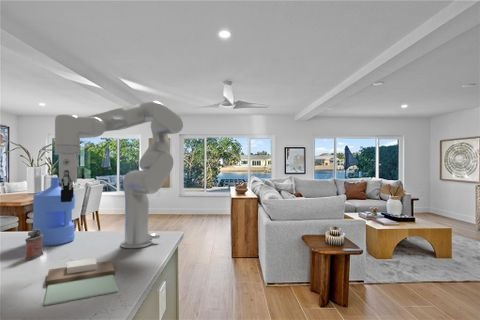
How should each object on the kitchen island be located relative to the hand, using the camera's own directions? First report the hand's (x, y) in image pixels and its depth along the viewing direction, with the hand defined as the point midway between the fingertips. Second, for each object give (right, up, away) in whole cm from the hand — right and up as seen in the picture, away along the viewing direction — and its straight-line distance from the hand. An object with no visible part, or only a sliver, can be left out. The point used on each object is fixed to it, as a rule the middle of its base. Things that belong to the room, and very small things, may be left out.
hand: (67, 200), depth 103 cm
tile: (+10, -20, -9) cm, 24 cm away
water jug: (-21, -22, +27) cm, 41 cm away
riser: (+11, -22, -10) cm, 26 cm away
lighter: (-16, -22, +6) cm, 28 cm away
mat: (+16, -22, -21) cm, 34 cm away
